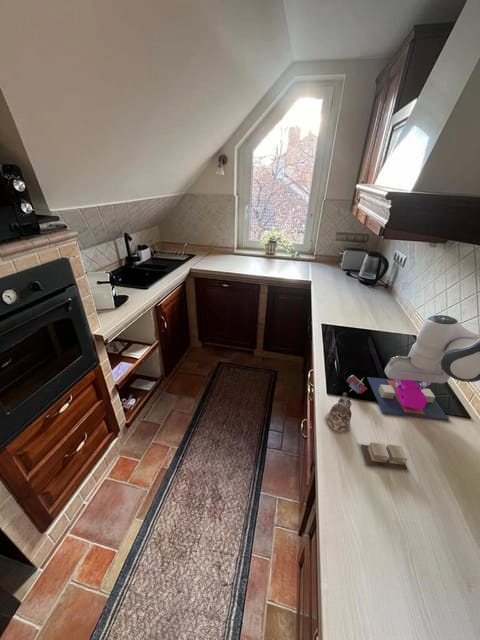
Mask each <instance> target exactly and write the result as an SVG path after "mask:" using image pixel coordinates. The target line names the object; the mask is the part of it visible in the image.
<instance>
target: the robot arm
mask: <svg viewBox="0 0 480 640" xmlns="http://www.w3.org/2000/svg"><path fill="white" fill-rule="evenodd" d="M383 372H384V374H385V376H386V378H387V379H392V380H393V379H395V380H396V383H395V386H396V387H398V388H401V386H402V383H401V382H400V381H401V380H409V381H414V382H422V383H418V385H417V387H419V388H420V389H421V390H424V388H425V387H426V388H427V387H428V386H430V385H431V384H432V383H433V384H441V385H443V384H445V383H447V382H448V381H449V380H450V378H452V379H454V380H456V381H459V382H463V383H464V382H465V383H475V382H479V381H480V335H479V334H477V333H474V332H473V331H470V330H468V328H467V329H466V328H465V326H463V325H462V324H461V323H460V322H459V321H458V319H456V318H454V317H453V316H449V315H444V314H438V315H431V316H430V317H428V318H427V319H426V320H425V321H424V322H423V324H422V325H421V327H420V329H419V331H418V333H417V335H416V340H415V342H414V343H413V344H412V345H411V348H410V351H409V352H408V355H407V356H406V355H404V356H402V355H395V356H393V357H391V358H389V361H388V362H387V364H386V366H385V367H384V370H383Z"/></svg>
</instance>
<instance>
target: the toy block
mask: <svg viewBox="0 0 480 640" xmlns="http://www.w3.org/2000/svg"><path fill="white" fill-rule="evenodd" d="M392 380H393V381H394V384H395V383H396V380H395V379H392ZM400 382H401V383H402V386H401V388H398V387H396V389H397V392H398V395H399V398H400V401H401V404H402V406H405V407H409V408H414V409H419V410H422V409H423V408H424V406H425V404H426V402H427V400H426V398H425V395H424V393H423V392H422V391H421V389H420V388H419V387H417V382H418V381H414V382H412V381H410V380H401V381H400Z"/></svg>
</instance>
